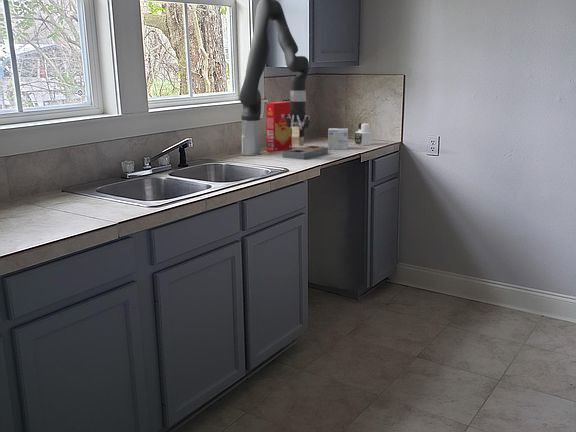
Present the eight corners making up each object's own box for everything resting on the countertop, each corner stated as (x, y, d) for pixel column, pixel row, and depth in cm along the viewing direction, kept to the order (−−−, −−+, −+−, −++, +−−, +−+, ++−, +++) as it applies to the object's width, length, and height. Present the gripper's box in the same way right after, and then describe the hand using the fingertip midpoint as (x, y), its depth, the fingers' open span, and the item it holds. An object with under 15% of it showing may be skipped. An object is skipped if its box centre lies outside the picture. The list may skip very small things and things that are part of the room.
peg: (298, 146, 278) (298, 127, 276) (291, 145, 280) (291, 126, 278) (303, 145, 281) (303, 126, 279) (296, 144, 283) (296, 126, 281)
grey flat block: (303, 161, 276) (303, 152, 275) (282, 159, 283) (282, 150, 281) (327, 155, 293) (328, 146, 292) (307, 153, 300) (307, 145, 299)
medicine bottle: (354, 144, 332) (355, 122, 329) (365, 143, 335) (366, 122, 332) (361, 145, 326) (361, 124, 323) (372, 145, 329) (372, 123, 325)
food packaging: (274, 152, 303) (274, 103, 296) (266, 151, 306) (265, 103, 300) (291, 149, 314) (291, 101, 308) (283, 148, 317) (283, 101, 311)
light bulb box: (347, 147, 318) (348, 128, 316) (347, 149, 312) (348, 129, 309) (328, 147, 319) (328, 127, 317) (327, 149, 313) (328, 129, 310)
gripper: (315, 100, 274) (314, 137, 279) (289, 99, 282) (289, 134, 286) (306, 101, 268) (305, 138, 273) (280, 100, 276) (280, 136, 280)
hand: (297, 136), depth 280 cm, fingers closed on peg, 4 cm apart
